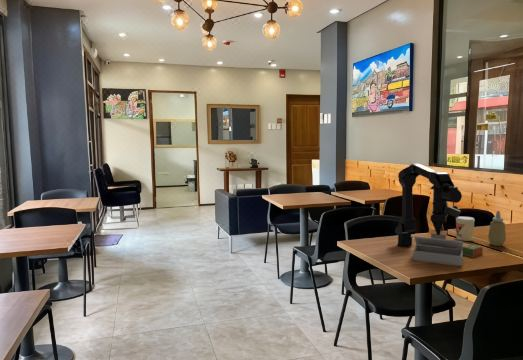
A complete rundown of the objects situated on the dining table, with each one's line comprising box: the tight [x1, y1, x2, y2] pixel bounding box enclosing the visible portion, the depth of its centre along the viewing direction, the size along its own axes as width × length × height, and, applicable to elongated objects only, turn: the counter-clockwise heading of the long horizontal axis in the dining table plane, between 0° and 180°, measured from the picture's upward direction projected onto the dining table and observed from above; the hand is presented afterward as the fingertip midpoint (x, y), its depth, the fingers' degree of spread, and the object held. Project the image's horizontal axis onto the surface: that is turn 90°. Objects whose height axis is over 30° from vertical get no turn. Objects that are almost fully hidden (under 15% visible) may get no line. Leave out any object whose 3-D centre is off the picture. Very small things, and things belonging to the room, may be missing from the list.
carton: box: [442, 242, 484, 258], centre depth 192 cm, size 8×16×4 cm, turn 33°
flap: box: [414, 229, 464, 249], centre depth 181 cm, size 20×12×5 cm, turn 63°
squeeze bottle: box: [487, 210, 507, 247], centre depth 203 cm, size 8×8×18 cm
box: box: [412, 244, 463, 267], centre depth 180 cm, size 20×12×4 cm, turn 63°
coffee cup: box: [455, 215, 476, 242], centre depth 216 cm, size 9×9×12 cm
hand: (438, 234), depth 177 cm, fingers open, 3 cm apart
